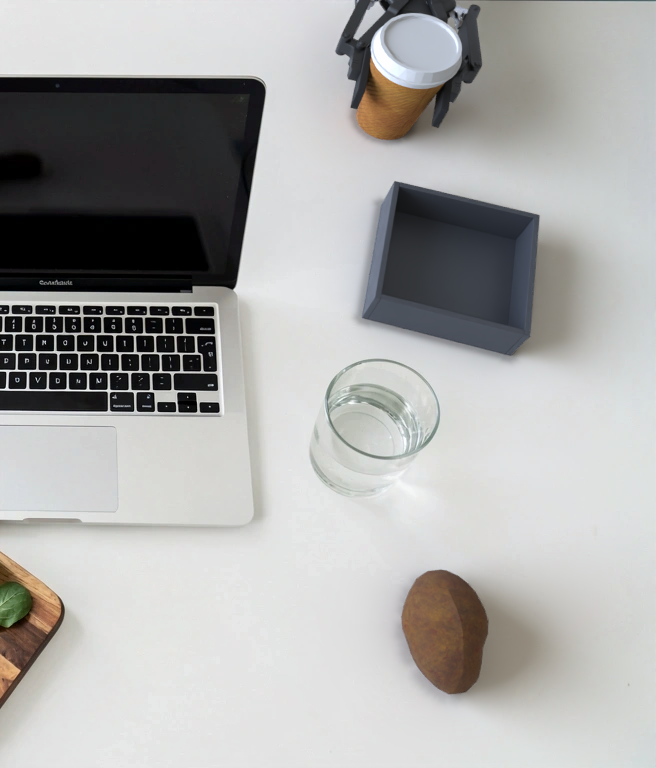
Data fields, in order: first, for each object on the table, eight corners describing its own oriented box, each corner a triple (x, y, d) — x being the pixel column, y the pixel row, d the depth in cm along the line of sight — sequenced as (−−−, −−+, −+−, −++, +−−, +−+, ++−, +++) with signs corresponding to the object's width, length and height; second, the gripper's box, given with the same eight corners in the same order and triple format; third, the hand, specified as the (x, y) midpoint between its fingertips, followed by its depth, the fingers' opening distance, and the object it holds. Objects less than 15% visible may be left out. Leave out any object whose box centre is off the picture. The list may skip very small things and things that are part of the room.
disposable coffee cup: (344, 85, 108) (377, 3, 97) (424, 97, 107) (467, 17, 97) (338, 146, 104) (372, 68, 93) (422, 159, 103) (466, 82, 93)
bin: (519, 240, 99) (540, 214, 95) (508, 358, 92) (530, 336, 88) (380, 206, 100) (394, 180, 96) (360, 320, 94) (374, 297, 90)
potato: (402, 698, 78) (434, 687, 71) (379, 578, 82) (407, 558, 76) (483, 695, 78) (522, 684, 72) (455, 575, 82) (489, 555, 76)
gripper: (498, 13, 109) (481, 154, 100) (326, -24, 112) (293, 111, 102) (528, -41, 102) (513, 106, 93) (344, -78, 105) (311, 61, 95)
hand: (398, 108), depth 98 cm, fingers closed on disposable coffee cup, 8 cm apart
